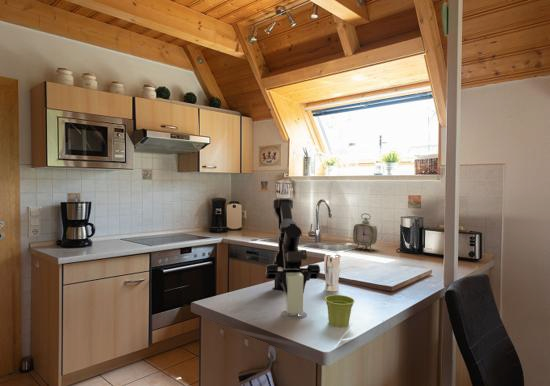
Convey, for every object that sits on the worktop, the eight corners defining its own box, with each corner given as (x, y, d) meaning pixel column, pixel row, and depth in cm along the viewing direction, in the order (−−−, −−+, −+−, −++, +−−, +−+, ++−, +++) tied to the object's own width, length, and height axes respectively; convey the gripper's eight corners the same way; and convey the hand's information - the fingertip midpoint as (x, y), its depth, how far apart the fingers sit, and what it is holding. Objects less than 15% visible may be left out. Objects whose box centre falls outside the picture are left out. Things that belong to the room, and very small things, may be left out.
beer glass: (327, 287, 167) (328, 253, 166) (342, 289, 163) (343, 255, 163) (320, 290, 161) (321, 255, 160) (336, 293, 157) (337, 257, 157)
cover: (285, 307, 132) (286, 272, 131) (300, 307, 132) (300, 272, 132) (287, 313, 127) (288, 276, 126) (302, 312, 127) (303, 276, 127)
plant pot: (351, 320, 127) (351, 295, 126) (356, 332, 117) (356, 304, 117) (323, 319, 127) (323, 294, 127) (325, 331, 118) (326, 303, 117)
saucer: (276, 318, 127) (276, 316, 127) (287, 310, 135) (287, 308, 135) (300, 323, 123) (300, 321, 123) (310, 315, 131) (310, 312, 131)
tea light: (287, 314, 129) (288, 306, 129) (291, 312, 131) (291, 304, 131) (295, 316, 127) (296, 308, 127) (299, 313, 130) (299, 305, 130)
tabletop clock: (352, 248, 263) (353, 213, 262) (358, 247, 270) (359, 212, 270) (372, 251, 254) (373, 214, 254) (377, 249, 262) (378, 213, 261)
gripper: (266, 241, 132) (268, 281, 121) (319, 241, 133) (326, 281, 123) (264, 259, 140) (266, 298, 129) (314, 259, 142) (320, 297, 131)
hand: (294, 293), depth 128 cm, fingers closed on cover, 5 cm apart
